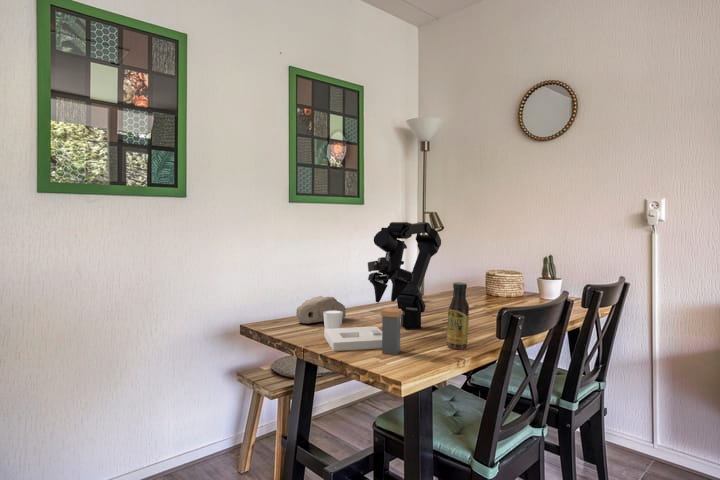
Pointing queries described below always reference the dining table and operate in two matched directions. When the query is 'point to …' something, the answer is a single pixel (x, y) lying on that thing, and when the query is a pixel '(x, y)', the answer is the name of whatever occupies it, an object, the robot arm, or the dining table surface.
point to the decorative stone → (318, 309)
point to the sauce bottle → (458, 318)
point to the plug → (391, 330)
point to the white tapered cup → (333, 319)
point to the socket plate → (354, 338)
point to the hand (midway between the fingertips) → (384, 301)
